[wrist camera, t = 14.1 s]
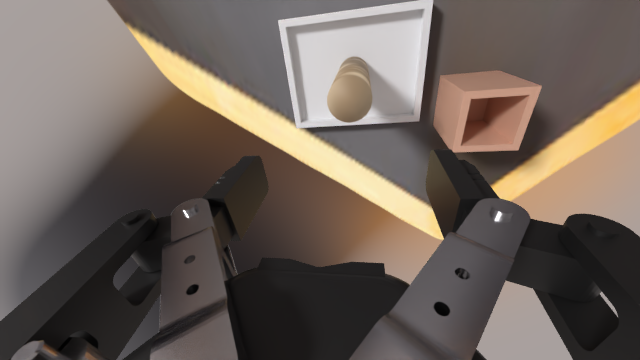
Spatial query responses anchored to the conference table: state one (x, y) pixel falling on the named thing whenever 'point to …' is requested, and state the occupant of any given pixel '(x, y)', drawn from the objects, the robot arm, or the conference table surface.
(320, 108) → the tray
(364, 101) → the dowel pin
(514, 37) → the conference table surface
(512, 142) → the pink open-ended box
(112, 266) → the robot arm
